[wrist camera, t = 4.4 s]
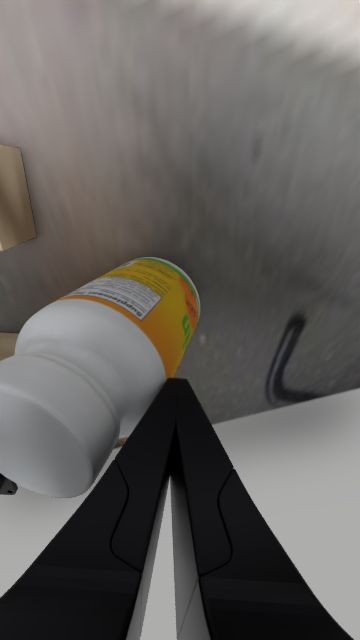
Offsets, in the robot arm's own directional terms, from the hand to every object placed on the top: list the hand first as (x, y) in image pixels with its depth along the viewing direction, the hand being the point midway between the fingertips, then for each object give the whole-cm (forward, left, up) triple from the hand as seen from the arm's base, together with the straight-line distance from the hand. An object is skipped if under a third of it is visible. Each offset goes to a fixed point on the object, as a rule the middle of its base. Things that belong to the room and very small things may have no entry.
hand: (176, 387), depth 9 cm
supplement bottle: (0, +1, -7) cm, 7 cm away
